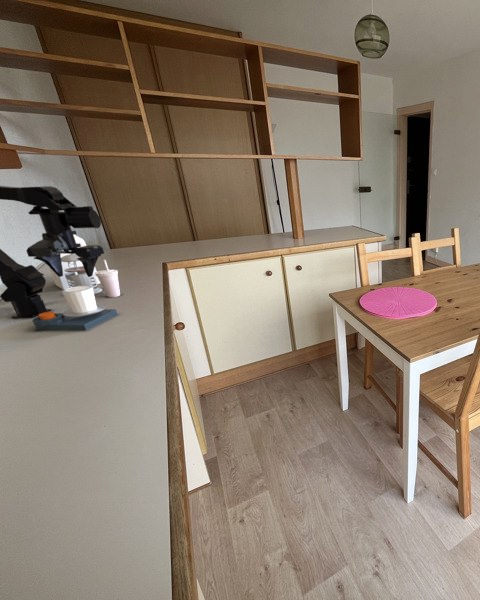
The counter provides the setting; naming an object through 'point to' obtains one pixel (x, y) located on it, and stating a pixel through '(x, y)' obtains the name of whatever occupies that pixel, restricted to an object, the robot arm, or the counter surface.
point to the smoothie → (109, 281)
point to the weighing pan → (70, 314)
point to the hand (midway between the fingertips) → (75, 276)
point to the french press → (81, 277)
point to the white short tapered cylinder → (80, 298)
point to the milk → (62, 280)
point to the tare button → (46, 315)
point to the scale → (74, 321)
